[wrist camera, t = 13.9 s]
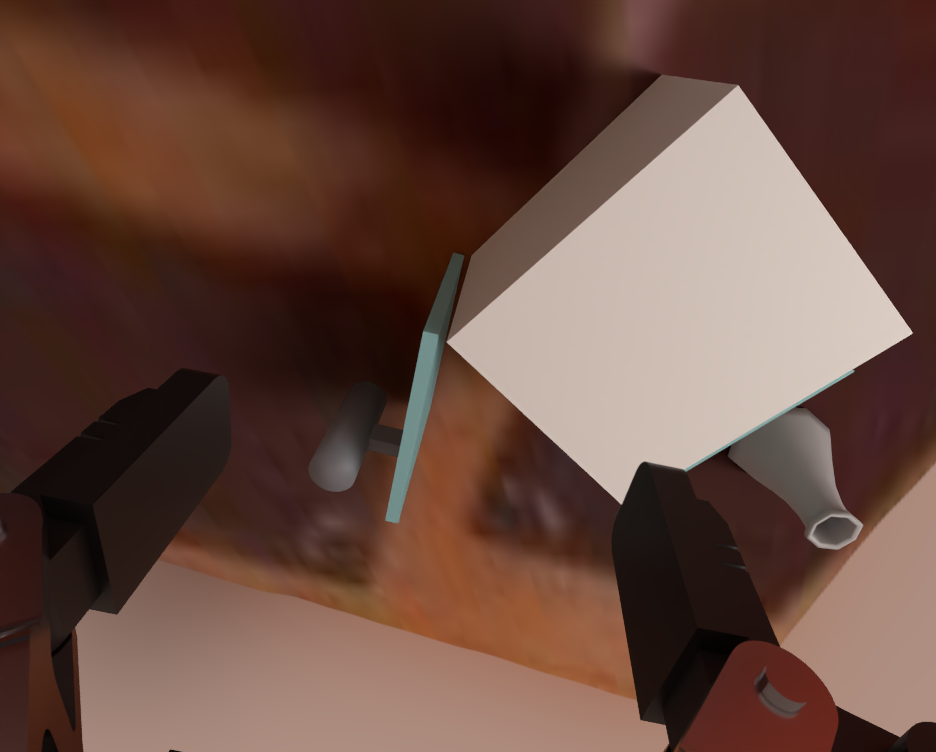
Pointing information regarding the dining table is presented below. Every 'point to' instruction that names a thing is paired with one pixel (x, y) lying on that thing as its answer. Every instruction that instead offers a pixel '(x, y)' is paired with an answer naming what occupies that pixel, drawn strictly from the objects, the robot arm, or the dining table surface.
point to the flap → (366, 404)
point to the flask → (799, 474)
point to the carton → (669, 289)
